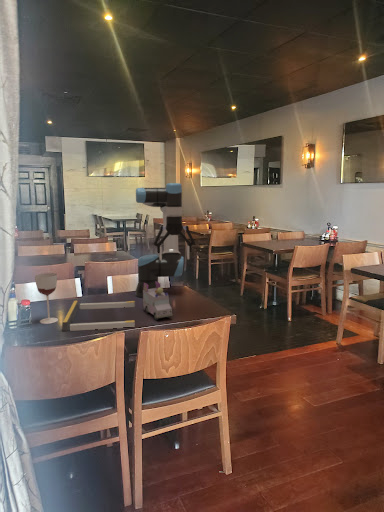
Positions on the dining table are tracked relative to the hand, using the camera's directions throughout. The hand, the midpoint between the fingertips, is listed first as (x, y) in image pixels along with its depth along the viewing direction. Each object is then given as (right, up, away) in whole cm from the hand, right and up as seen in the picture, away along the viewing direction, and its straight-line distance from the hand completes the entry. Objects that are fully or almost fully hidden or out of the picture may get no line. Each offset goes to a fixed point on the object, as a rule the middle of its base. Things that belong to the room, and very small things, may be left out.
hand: (174, 259), depth 185 cm
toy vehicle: (-9, -28, +2) cm, 29 cm away
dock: (-35, -28, -2) cm, 45 cm away
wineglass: (-59, -29, -7) cm, 66 cm away
